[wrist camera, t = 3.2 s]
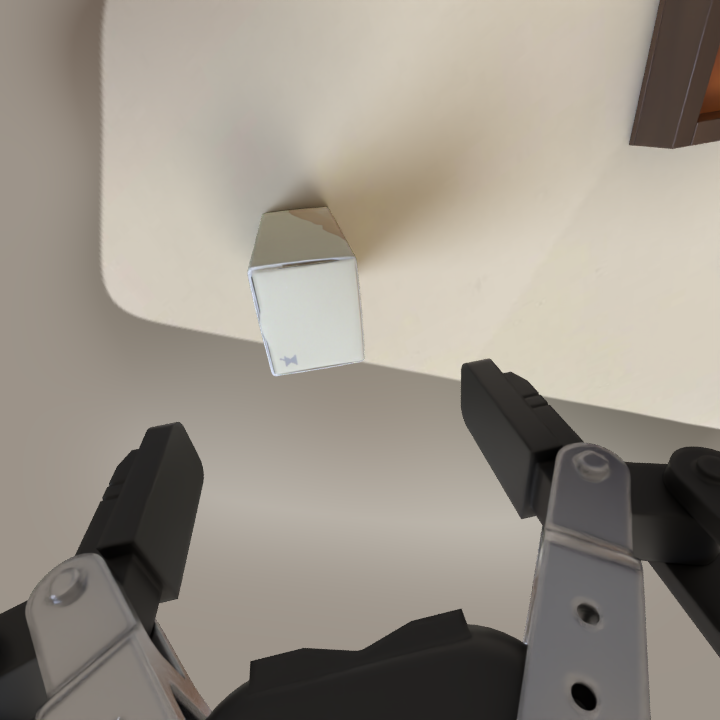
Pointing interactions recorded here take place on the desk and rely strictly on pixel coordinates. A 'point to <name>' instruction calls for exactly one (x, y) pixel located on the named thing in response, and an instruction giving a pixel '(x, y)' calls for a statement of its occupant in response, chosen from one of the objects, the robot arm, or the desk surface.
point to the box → (306, 292)
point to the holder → (681, 77)
